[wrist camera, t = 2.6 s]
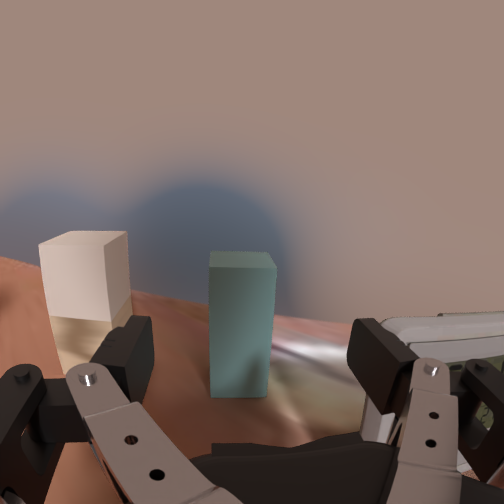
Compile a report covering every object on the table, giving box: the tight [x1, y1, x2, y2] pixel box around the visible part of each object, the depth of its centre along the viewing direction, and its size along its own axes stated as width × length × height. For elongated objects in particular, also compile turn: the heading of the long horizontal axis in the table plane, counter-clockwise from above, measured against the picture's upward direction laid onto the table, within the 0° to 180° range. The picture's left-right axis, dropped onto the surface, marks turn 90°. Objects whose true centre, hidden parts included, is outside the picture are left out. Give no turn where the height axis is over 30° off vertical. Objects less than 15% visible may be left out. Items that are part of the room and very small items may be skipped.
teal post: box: [209, 251, 277, 398], centre depth 24 cm, size 4×4×11 cm
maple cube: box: [49, 295, 133, 374], centre depth 25 cm, size 6×6×6 cm
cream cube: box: [39, 231, 131, 322], centre depth 23 cm, size 6×6×6 cm
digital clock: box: [359, 311, 504, 473], centre depth 14 cm, size 16×9×11 cm, turn 74°
